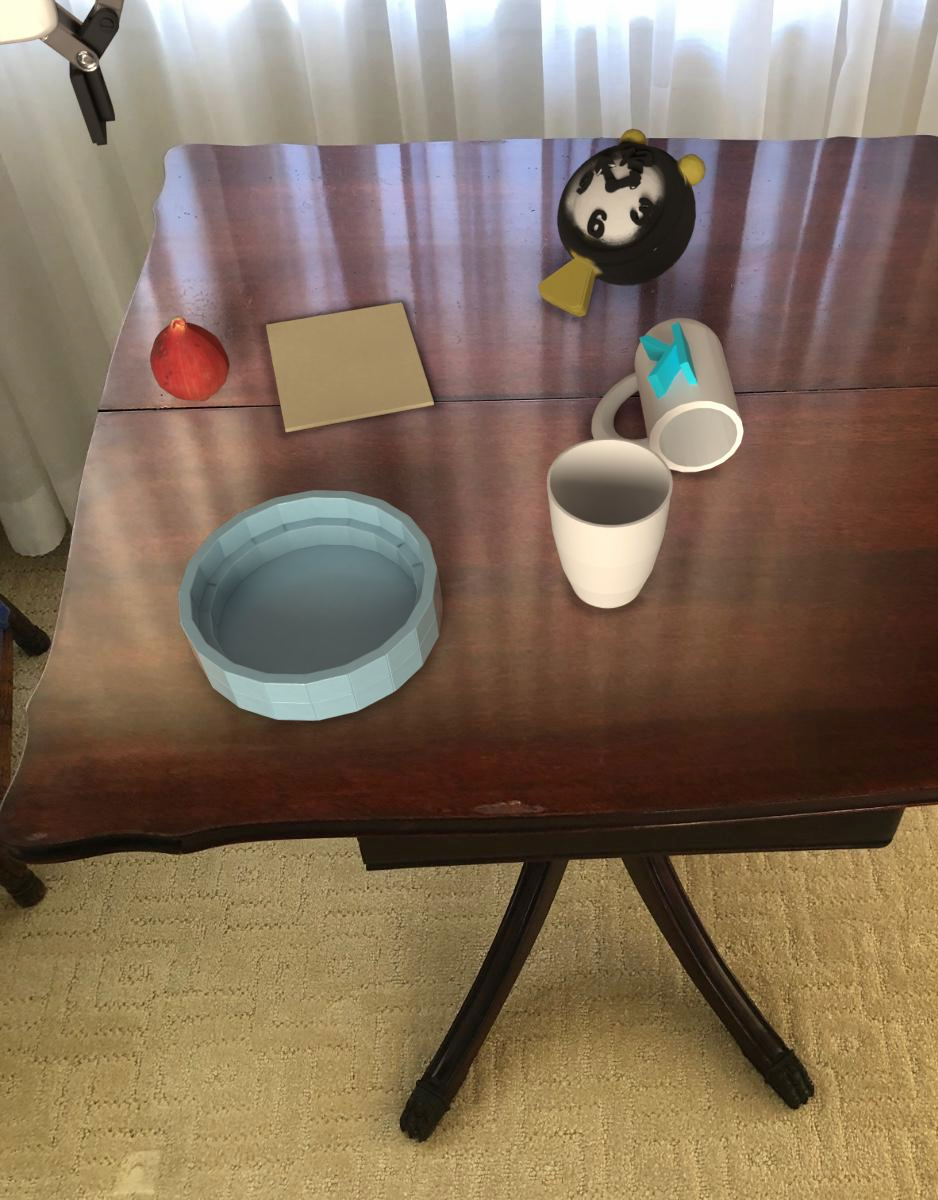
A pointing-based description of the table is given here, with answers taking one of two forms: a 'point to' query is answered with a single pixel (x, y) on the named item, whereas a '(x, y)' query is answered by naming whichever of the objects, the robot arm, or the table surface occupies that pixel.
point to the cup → (608, 516)
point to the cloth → (346, 366)
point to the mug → (679, 397)
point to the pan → (312, 604)
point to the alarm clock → (623, 219)
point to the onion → (189, 361)
